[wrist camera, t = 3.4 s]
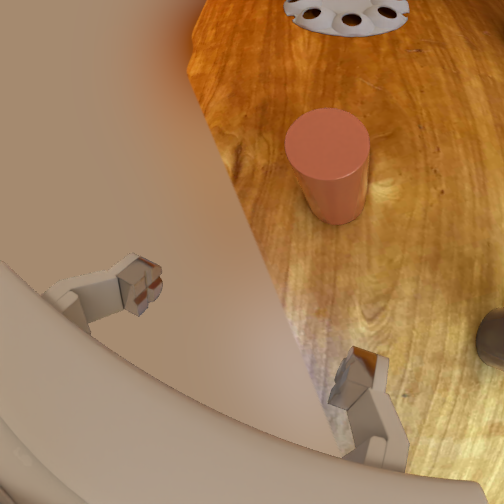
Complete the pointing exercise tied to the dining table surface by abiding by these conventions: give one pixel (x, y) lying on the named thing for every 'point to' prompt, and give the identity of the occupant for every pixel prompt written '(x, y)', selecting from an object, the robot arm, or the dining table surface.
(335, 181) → the terracotta canister
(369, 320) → the dining table surface
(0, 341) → the robot arm
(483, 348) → the slate-blue canister
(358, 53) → the dining table surface
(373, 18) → the grey disc with holes
